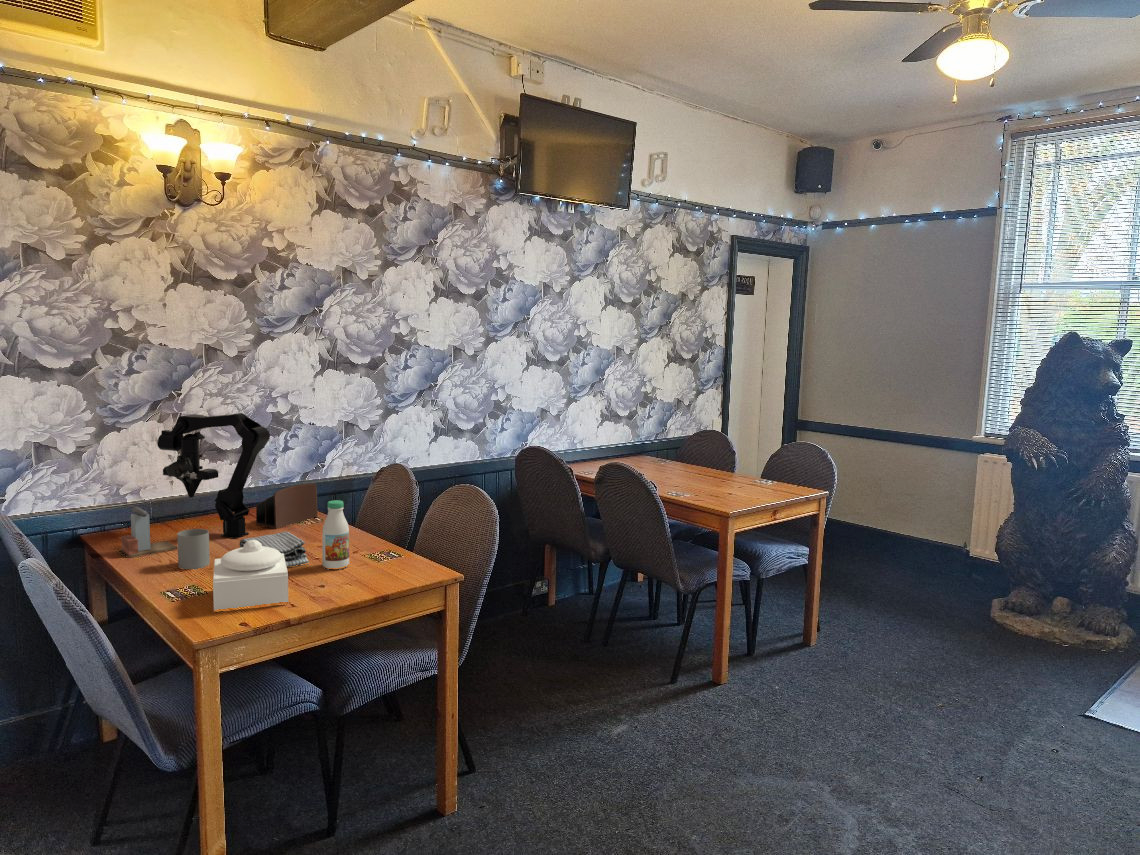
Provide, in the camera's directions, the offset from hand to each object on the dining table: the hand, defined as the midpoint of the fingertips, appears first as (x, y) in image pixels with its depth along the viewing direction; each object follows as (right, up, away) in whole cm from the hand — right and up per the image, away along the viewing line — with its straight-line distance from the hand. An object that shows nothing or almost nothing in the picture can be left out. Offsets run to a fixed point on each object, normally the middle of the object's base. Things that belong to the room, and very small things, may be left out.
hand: (191, 497), depth 263 cm
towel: (+39, -18, -28) cm, 51 cm away
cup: (+17, -17, -33) cm, 41 cm away
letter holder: (+26, -11, +19) cm, 34 cm away
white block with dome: (+44, -22, -58) cm, 76 cm away
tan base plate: (-3, -15, -21) cm, 26 cm away
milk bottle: (+58, -18, -30) cm, 68 cm away
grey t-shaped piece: (-5, -15, -22) cm, 27 cm away
